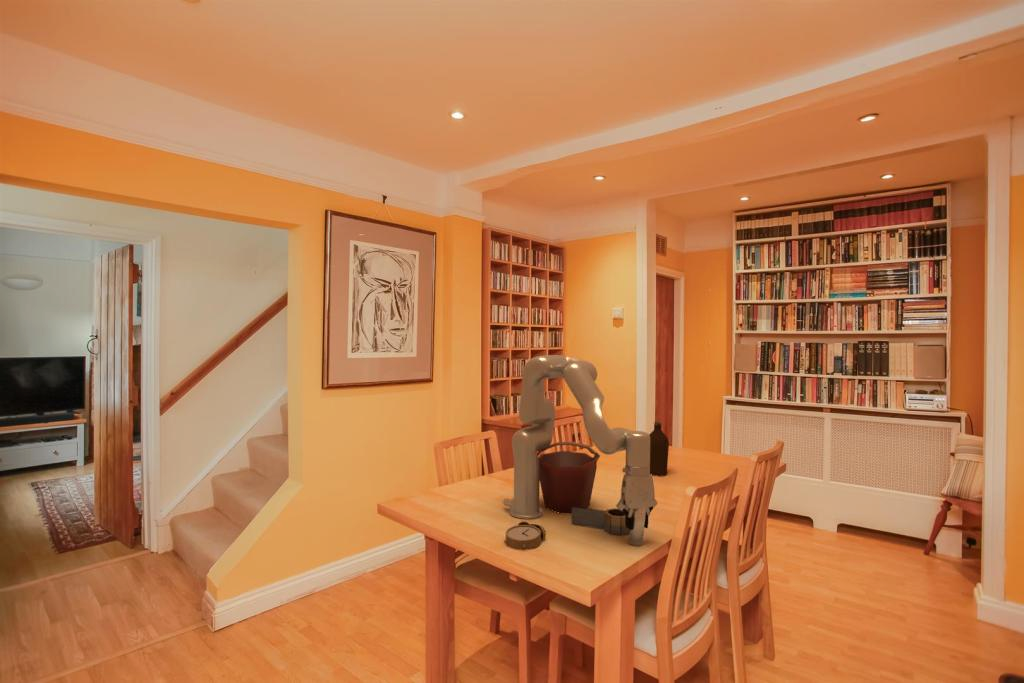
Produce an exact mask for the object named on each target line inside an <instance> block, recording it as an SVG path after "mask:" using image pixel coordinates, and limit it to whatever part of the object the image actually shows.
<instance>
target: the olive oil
mask: <svg viewBox="0 0 1024 683" xmlns="http://www.w3.org/2000/svg"><path fill="white" fill-rule="evenodd" d="M653 424H654V425H653V431H652V432H650V433H648V434H649V435H650V474H652V476H653V475H665V476H667V475H668V461H669V449H670V448H669V446H670V442H669V438H668V437H667V435H666V433H664V431H663V430H662V422H661V421H654V423H653ZM666 474H667V475H666Z"/></svg>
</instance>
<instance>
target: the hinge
mask: <svg viewBox="0 0 1024 683" xmlns="http://www.w3.org/2000/svg"><path fill="white" fill-rule="evenodd" d="M625 506H626V505H623V507H624V508H625ZM570 523H571V525H572V524H573V526H579V525H580V527H587V528H593V529H599V530H600V529H601V530H604V531H605V532H606V533H608V534H610V535H612V536H613V535H614V536H627V535H629V532H630V529H628V528H627V527H626V525H625V515H624V513H623V512H622V511H621V510H619V509H618V508H617V507H616V508H615V507H613V508H608V509H606V510H603V509H598V508H597V509H596V508H590V507H589V508H582V507H574V506H572V513H571V521H570Z"/></svg>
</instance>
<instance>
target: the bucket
mask: <svg viewBox="0 0 1024 683" xmlns="http://www.w3.org/2000/svg"><path fill="white" fill-rule="evenodd" d="M558 446H574V447H579V448H582V449H586V450H587V451H589V453H591V454H593V456H591V455H589V454H588V453H586V452H580V451H579V452H578V451H577V452H575V451H567V450H559V451H554V452H547V453H542V452H544V451H546V450H549V449H551V448H554V447H558ZM537 457H538V460H539V465H540V482H539V485H540V488H541V489H540V490H541V493H542V498H543V504H544V507H545V508H544V509H546V508H548V509H547V510H549V509H550V510H549V511H552V510H553V511H552V512H554V511H556V512H555V513H557V512H559V513H558V514H560V513H569V514H572V506H574V507H582V508H590V504H591V500H592V499H591V498H592V494H593V488H594V484H595V483H594V482H595V478H596V473H597V467H598V465H597V462H598V461H599V459H600V457H601V455H600V454H599V452H597V451H595V450H594V449H593V448H592V447H591V446H590V445H588V444H584V443H579V442H573V441H557V442H554V443H551V444H550V445H549V446H548V447H547V448H546V449H543V450H540V451H537Z"/></svg>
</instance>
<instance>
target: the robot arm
mask: <svg viewBox="0 0 1024 683" xmlns="http://www.w3.org/2000/svg"><path fill="white" fill-rule="evenodd" d="M521 376H522V377H521V378H522V379H521V390H520V399H519V408H518V418H519V421H520V422H521V423H522V424H524V425H526V426H527V427H523V428H520V429H518V430H516V431H515V432H514V434H513V435H512V438H511V448H512V454H513V498H512V499H509V498H503V502H502V503H503V506H505V507H509V511H508V512H509V515H510V516H512V517H514V518H518V519H525V520H530V519H537V518H541V517H542V516H543V514H544V509H543V508H542V507H540V465H539V460H538V458H539V456H537V452H538V451H540V450H543V449H546V448H547V447H548V446H549V445H551V444H552V442H553V436H554V431H555V430H554V429H555V421H556V420H555V419H556V408H555V405H554V402H553V401H552V400H551V399H550V398H548V397H544V396H545V392H546V391H545V390H546V389H545V383H544V380H549V379H563V380H564V382H565V384H566V385H567V387H568V389H569V390H570V392H571V393H572V394H573V396H574V398H575V400H576V401H577V404H579V406H580V408H581V410H582V418H583V422H584V423H583V424H584V427H585V430H586V432H587V434H588V436H589V439H591V441H592V443H593V444H594V445H595V447H596V449H597V450H598V451H600V453H601V454H604V455H609V456H610V455H614V454H616V453H619V452H624V451H625V465H624V466H625V467H623V468H622V469H621V470H622V473H624V474H623V477H622V480H621V481H622V483H621V488H620V489H621V490H620V499H619V500H618V502H617V504H616V505H615V507H616V509H619V510H621V511H622V512H623V513H624V515H625V525H626V527H627V528H628V529H630V530H633V517H631V516H632V512H633V509H639V508H646V516H645V526H644V529H648V528H649V516H651V512H652V511H653V509H654V508H655V507H656V506H657V505H658V501H657V499H656V494H655V482H654V478H653V475H651V474H650V435H649V434H650V433H648V432H646V431H642V430H631V429H628V428H624V427H613V428H610V427H609V426H608V424H607V423H606V421H605V419H604V415H603V412H602V409H603V408H602V407H603V404H604V401H605V397H604V394H603V393H602V391H601V389H600V388H599V387H598V385H597V383H596V380H597V379H598V371H597V367H596V366H595V365H594V364H593V363H591V362H590V361H586V360H583V359H579V358H576V357H575V358H574V357H572V356H571V357H570V356H567V355H562V354H545V355H538V356H534V357H532V358H531V359H529V360H527V362H526V363H525V364H524V366H523V369H522V375H521ZM531 425H532V426H531ZM623 505H626V506H625V508H624V507H623Z"/></svg>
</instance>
